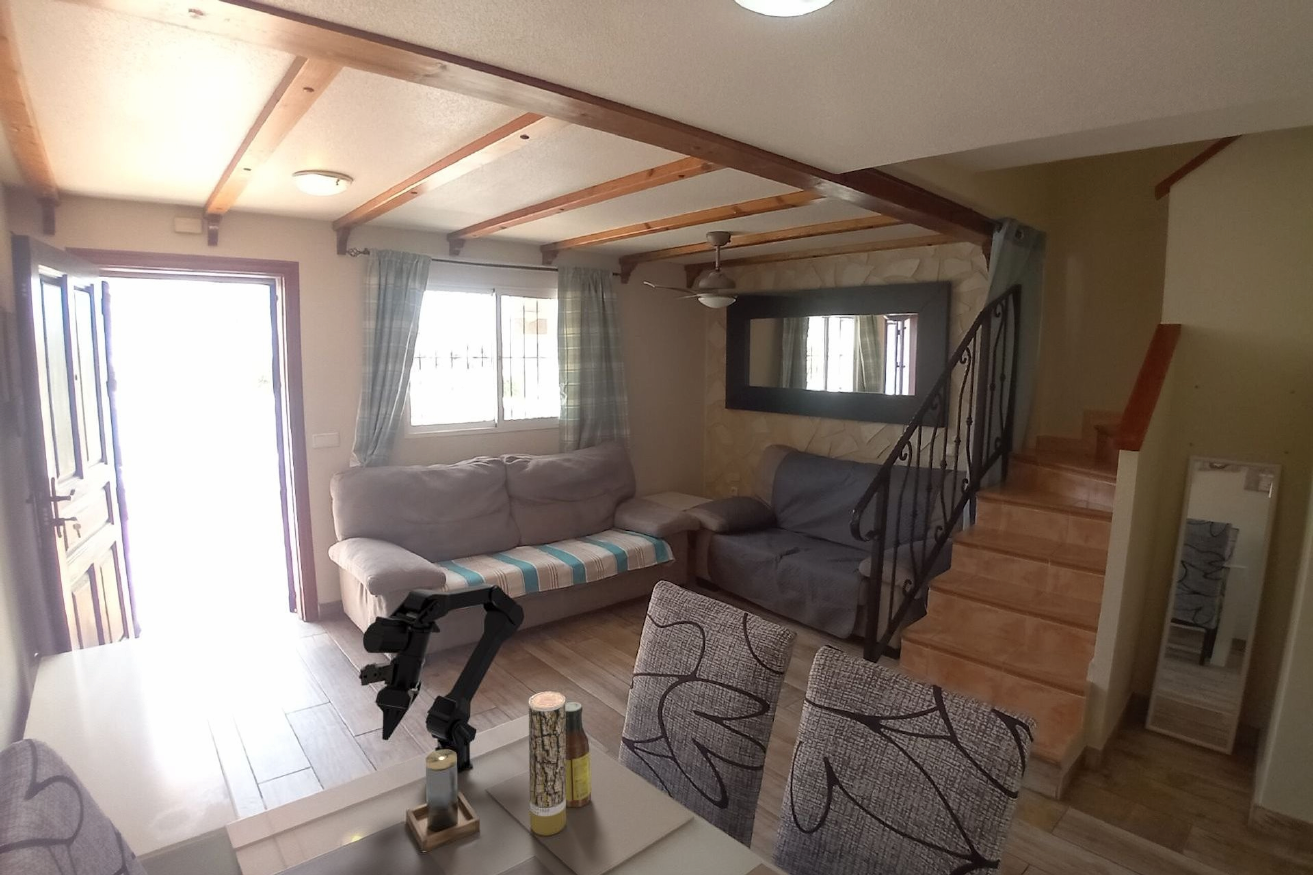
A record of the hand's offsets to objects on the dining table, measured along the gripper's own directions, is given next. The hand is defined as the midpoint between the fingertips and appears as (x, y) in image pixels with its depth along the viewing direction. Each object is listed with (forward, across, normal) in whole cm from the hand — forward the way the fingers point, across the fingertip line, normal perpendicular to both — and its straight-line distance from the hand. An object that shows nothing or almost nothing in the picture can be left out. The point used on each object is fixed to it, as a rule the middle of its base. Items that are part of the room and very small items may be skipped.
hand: (389, 733), depth 134 cm
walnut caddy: (+13, +6, +15) cm, 20 cm away
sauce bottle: (+6, +2, +39) cm, 40 cm away
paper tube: (+9, +9, +34) cm, 36 cm away
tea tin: (+13, +6, +14) cm, 20 cm away
